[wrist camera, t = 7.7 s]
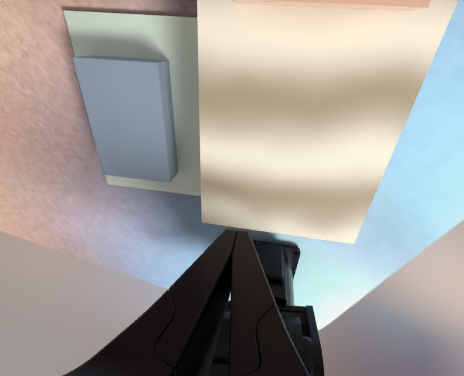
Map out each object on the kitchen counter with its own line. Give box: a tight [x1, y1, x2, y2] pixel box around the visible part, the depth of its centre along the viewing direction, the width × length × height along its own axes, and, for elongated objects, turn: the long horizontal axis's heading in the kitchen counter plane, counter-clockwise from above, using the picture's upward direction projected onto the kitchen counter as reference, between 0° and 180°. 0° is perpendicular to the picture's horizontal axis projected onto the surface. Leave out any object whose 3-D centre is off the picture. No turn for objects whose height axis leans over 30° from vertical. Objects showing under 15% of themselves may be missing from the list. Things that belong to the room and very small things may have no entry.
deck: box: [197, 0, 458, 244], centre depth 16 cm, size 20×12×4 cm, turn 177°
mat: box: [63, 10, 201, 196], centre depth 20 cm, size 14×10×1 cm
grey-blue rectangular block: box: [72, 55, 178, 183], centre depth 19 cm, size 9×6×2 cm, turn 178°
